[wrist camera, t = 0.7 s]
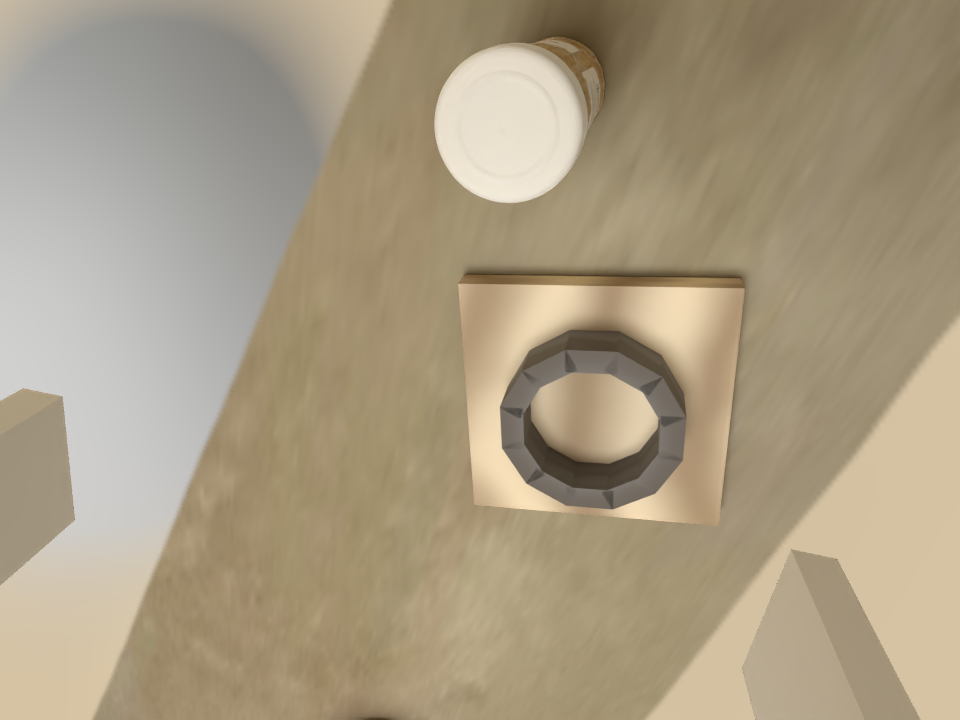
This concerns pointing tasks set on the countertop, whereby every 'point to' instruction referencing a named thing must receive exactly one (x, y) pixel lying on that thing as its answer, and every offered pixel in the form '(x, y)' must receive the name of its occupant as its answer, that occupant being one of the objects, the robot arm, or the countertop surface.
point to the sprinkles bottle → (518, 116)
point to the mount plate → (601, 392)
